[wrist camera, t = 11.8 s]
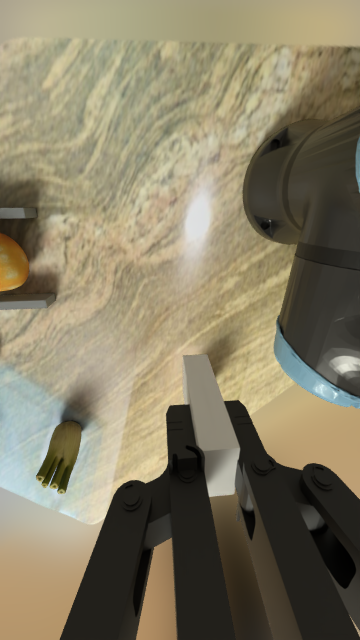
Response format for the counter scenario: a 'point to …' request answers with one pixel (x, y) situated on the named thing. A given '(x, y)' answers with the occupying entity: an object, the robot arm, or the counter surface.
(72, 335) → the counter surface
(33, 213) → the flagpole corner frame
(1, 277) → the fruit
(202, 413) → the robot arm
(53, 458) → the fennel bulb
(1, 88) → the counter surface
